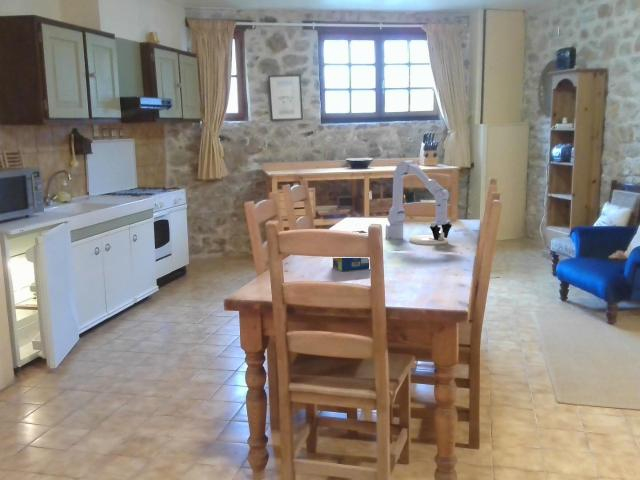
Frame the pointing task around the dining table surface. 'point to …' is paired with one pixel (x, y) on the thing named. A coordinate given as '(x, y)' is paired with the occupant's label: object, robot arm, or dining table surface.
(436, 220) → the robot arm
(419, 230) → the dining table surface
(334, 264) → the protein box
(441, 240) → the dial
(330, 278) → the dining table surface
